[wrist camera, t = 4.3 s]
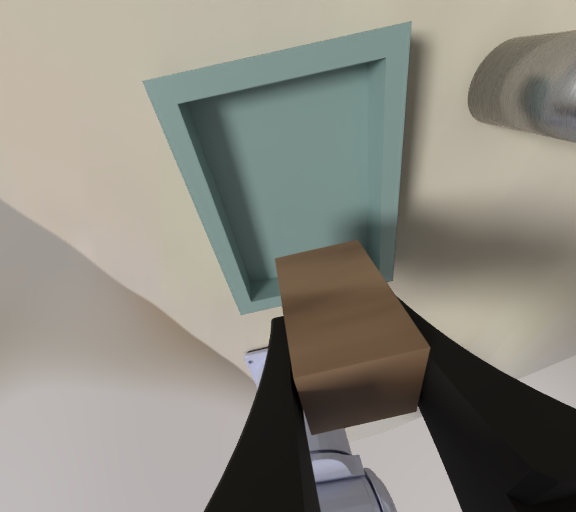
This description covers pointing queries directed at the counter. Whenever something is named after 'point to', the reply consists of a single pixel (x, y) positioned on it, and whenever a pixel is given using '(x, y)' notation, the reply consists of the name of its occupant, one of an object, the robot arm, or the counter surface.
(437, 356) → the robot arm
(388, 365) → the walnut block
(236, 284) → the parts tray
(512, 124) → the grey peg
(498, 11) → the counter surface
